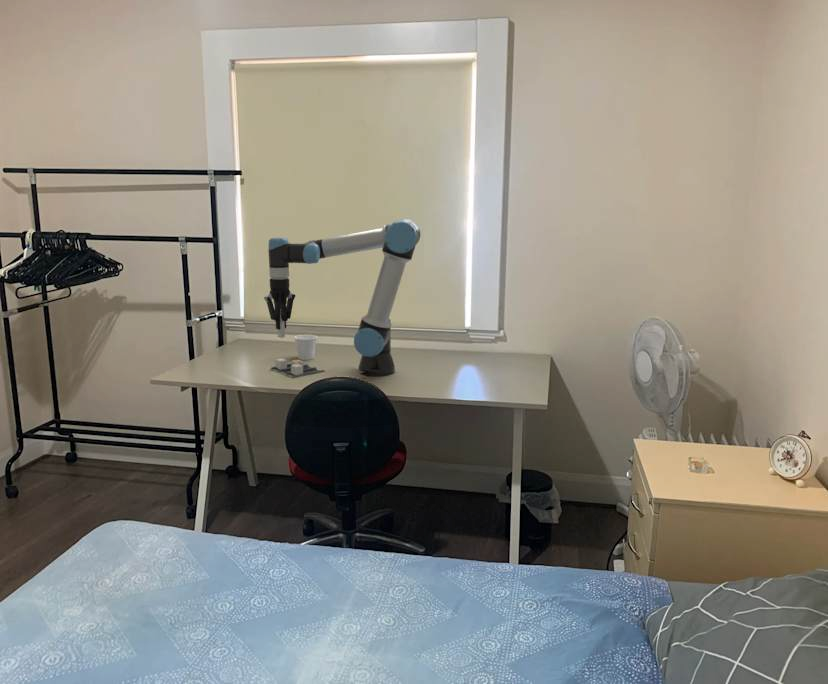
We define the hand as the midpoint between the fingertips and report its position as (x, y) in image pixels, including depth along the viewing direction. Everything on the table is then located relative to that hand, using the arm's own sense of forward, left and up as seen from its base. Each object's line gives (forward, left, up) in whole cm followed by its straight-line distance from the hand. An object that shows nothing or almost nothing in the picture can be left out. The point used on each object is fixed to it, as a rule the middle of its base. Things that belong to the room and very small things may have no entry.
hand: (281, 336), depth 275 cm
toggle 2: (0, -7, -15) cm, 16 cm away
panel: (0, -7, -16) cm, 18 cm away
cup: (+15, -21, -17) cm, 31 cm away
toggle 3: (-6, -3, -15) cm, 16 cm away
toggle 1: (+6, -3, -15) cm, 16 cm away
